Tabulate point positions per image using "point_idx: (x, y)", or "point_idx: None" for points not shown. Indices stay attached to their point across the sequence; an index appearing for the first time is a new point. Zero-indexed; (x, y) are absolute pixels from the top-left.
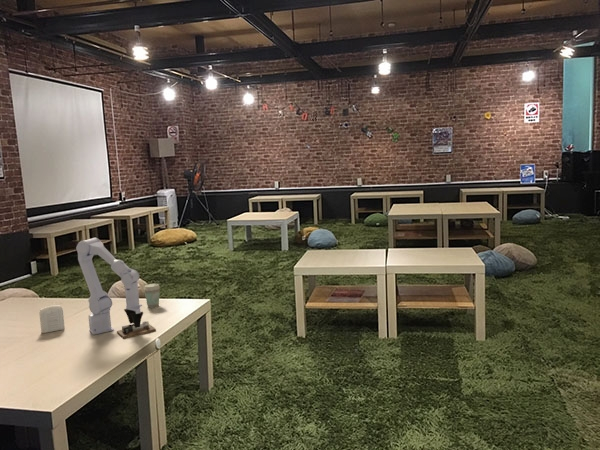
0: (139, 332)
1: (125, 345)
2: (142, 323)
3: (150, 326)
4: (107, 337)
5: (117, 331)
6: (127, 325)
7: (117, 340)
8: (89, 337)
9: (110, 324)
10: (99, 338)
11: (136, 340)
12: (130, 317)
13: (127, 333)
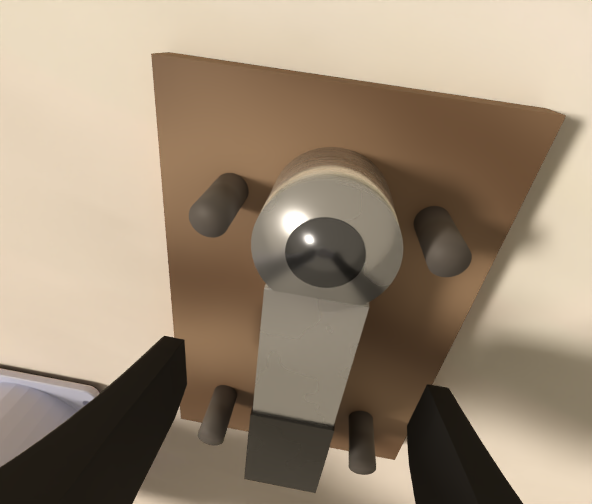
0: (443, 343)
1: (568, 494)
2: (343, 305)
3: (342, 116)
4: (245, 466)
5: (198, 420)
6: (257, 444)
7: (385, 469)
8: (154, 500)
9: (26, 439)
10: (224, 490)
11: (569, 414)
12: (132, 472)
13: (371, 430)
